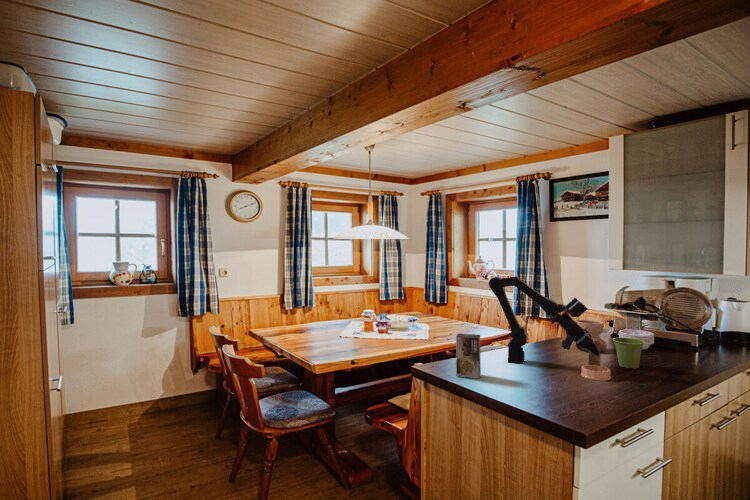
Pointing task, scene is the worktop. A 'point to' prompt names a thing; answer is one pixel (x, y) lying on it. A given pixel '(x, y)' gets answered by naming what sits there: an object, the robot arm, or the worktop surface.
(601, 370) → the tan shallow dish
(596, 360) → the tall square post
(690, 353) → the worktop surface
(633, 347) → the plant pot
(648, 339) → the paper bowls
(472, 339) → the coffee box
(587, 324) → the ceramic jug
